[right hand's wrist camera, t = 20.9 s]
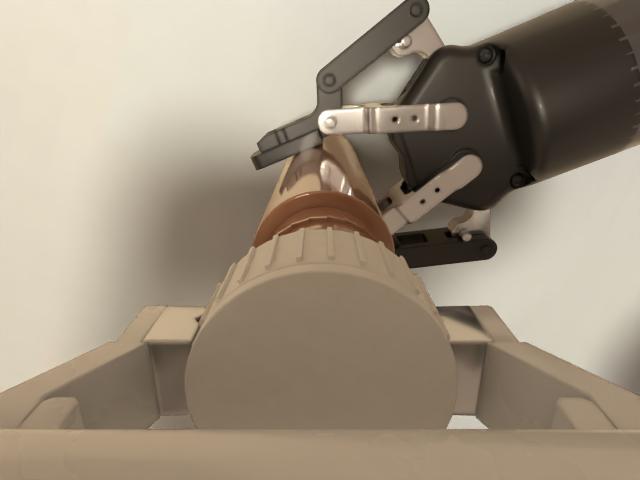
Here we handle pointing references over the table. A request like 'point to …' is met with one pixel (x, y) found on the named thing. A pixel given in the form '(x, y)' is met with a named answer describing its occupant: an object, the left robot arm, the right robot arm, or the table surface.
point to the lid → (321, 341)
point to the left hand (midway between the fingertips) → (277, 206)
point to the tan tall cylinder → (324, 196)
